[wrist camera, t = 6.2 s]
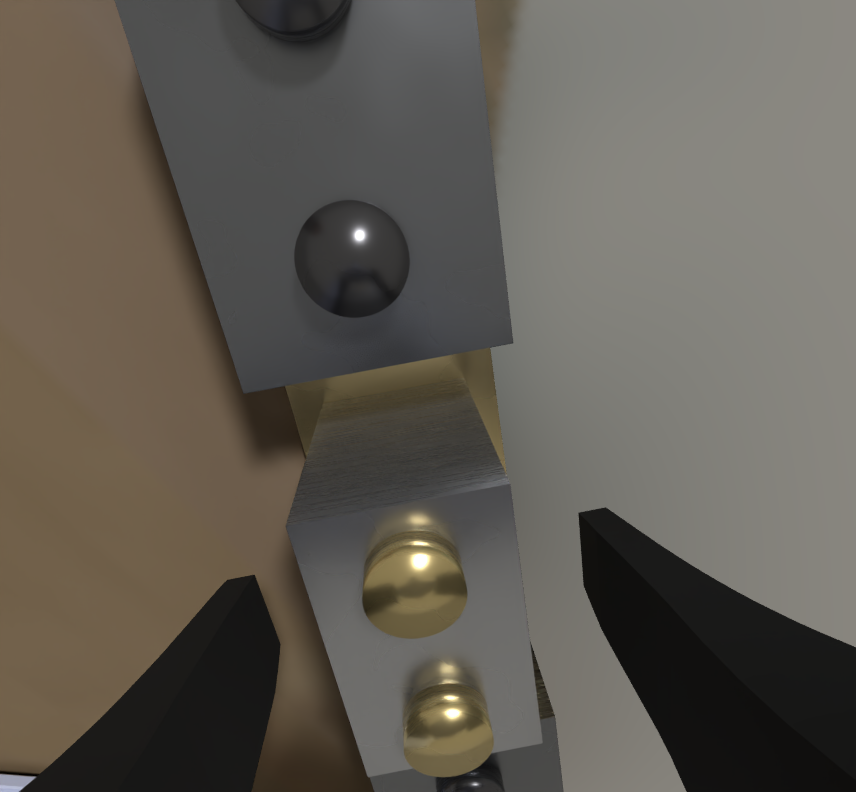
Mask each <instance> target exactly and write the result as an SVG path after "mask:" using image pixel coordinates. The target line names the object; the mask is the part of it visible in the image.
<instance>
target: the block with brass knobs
mask: <svg viewBox="0 0 856 792" xmlns="http://www.w3.org/2000/svg"><path fill="white" fill-rule="evenodd" d="M286 528H287V531H288V534H289V538H290V541H291V544H292V547H293V550H294V553H295V556H296V559H297V562H298V565H299V568H300V571H301V574H302V577H303V580H304V583H305V586H306V590H307V593H308V596H309V599H310V602H311V605H312V608H313V611H314V614H315V617H316V620H317V623H318V626H319V629H320V632H321V635H322V638H323V642H324V645H325V648H326V651H327V654H328V657H329V660H330V663H331V666H332V669H333V672H334V675H335V678H336V681H337V684H338V687H339V690H340V694H341V697H342V700H343V703H344V706H345V709H346V712H347V715H348V718H349V721H350V724H351V727H352V730H353V733H354V736H355V739H356V742H357V746H358V749H359V752H360V755H361V758H362V761H363V764H364V767H365V770H366V773H367V776H368V777H372V776H377V775H382V774H387V773H392V772H397V771H402V770H408V769H413V768H414V769H415V770H417V771H418V772H421V773H423V774H426V775H429V776H434V777H452V776H458V775H462V774H465V773H467V772H470V771H472V770H474V769H476V768H477V767H479V766H480V765H481V764H482V763H484V762H485V761H486V760H487V758H488V757H489V756H490V754H491V753H495V752H500V751H505V750H510V749H516V748H521V747H526V746H531V745H536V744H541V743H543V741H542V733H541V725H540V717H539V709H538V701H537V693H536V685H535V677H534V669H533V661H532V653H531V645H530V637H529V629H528V621H527V613H526V606H525V597H524V590H523V583H522V582H523V581H522V573H521V566H520V557H519V550H518V542H517V534H516V525H515V518H514V510H513V502H512V494H511V486H510V482H509V480H508V478H507V475H506V473H505V471H504V468H503V466H502V464H501V461H500V459H499V457H498V455H497V452H496V450H495V448H494V445H493V443H492V441H491V439H490V436H489V434H488V432H487V429H486V427H485V425H484V423H483V420H482V418H481V416H480V413H479V411H478V409H477V407H476V404H475V402H474V400H473V397H472V395H471V393H470V391H469V388H468V386H467V384H466V381H465V379H464V378H459V379H454V380H448V381H443V382H437V383H432V384H427V385H421V386H416V387H411V388H405V389H400V390H394V391H389V392H384V393H378V394H373V395H367V396H362V397H357V398H351V399H346V400H341V401H335V402H330V403H324V404H323V405H322V408H321V412H320V415H319V418H318V421H317V425H316V428H315V431H314V435H313V438H312V441H311V445H310V448H309V451H308V454H307V458H306V461H305V464H304V468H303V471H302V474H301V477H300V481H299V484H298V487H297V491H296V494H295V497H294V500H293V504H292V507H291V510H290V514H289V517H288V520H287V524H286Z"/></svg>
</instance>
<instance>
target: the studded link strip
mask: <svg viewBox="0 0 856 792" xmlns="http://www.w3.org/2000/svg"><path fill="white" fill-rule="evenodd" d="M115 3H116V6H117V9H118V12H119V15H120V18H121V21H122V24H123V27H124V30H125V34H126V37H127V40H128V43H129V46H130V49H131V52H132V55H133V58H134V61H135V64H136V67H137V70H138V73H139V76H140V79H141V82H142V85H143V88H144V91H145V94H146V97H147V101H148V104H149V107H150V110H151V113H152V116H153V119H154V122H155V125H156V128H157V131H158V134H159V137H160V140H161V143H162V146H163V149H164V152H165V155H166V158H167V161H168V165H169V168H170V171H171V174H172V177H173V180H174V183H175V186H176V189H177V192H178V195H179V198H180V201H181V204H182V207H183V210H184V213H185V216H186V219H187V222H188V225H189V229H190V232H191V235H192V238H193V241H194V244H195V247H196V250H197V253H198V256H199V259H200V262H201V265H202V268H203V271H204V274H205V277H206V280H207V283H208V286H209V289H210V292H211V296H212V299H213V302H214V305H215V308H216V311H217V314H218V317H219V320H220V323H221V326H222V329H223V332H224V335H225V338H226V341H227V344H228V347H229V350H230V353H231V356H232V360H233V363H234V366H235V369H236V372H237V375H238V378H239V381H240V384H241V387H242V390H243V393H244V394H245V393H250V392H256V391H261V390H266V389H272V388H277V387H282V386H285V388H286V391H287V395H288V398H289V401H290V405H291V408H292V412H293V415H294V418H295V422H296V425H297V429H298V432H299V435H300V439H301V442H302V446H303V449H304V452H305V456H306V458H307V454H308V451H309V448H310V445H311V441H312V438H313V435H314V431H315V428H316V425H317V421H318V418H319V415H320V412H321V408H322V405H323V404H324V403H330V402H335V401H341V400H346V399H351V398H357V397H362V396H367V395H373V394H378V393H384V392H389V391H394V390H400V389H405V388H411V387H416V386H421V385H427V384H432V383H437V382H443V381H448V380H454V379H459V378H464V379H465V381H466V384H467V386H468V388H469V391H470V393H471V395H472V397H473V400H474V402H475V404H476V407H477V409H478V411H479V413H480V416H481V418H482V420H483V423H484V425H485V427H486V429H487V432H488V434H489V436H490V439H491V441H492V443H493V445H494V448H495V450H496V452H497V455H498V457H499V459H500V461H501V464H502V466H503V468H504V471H505V473H506V467H505V459H504V451H503V443H502V436H501V428H500V421H499V413H498V405H497V398H496V390H495V382H494V374H493V366H492V359H491V351H490V348H491V347H496V346H501V345H506V344H512V343H513V337H512V327H511V319H510V310H509V301H508V292H507V283H506V274H505V265H504V256H503V247H502V238H501V230H500V220H499V211H498V202H497V193H496V184H495V176H494V167H493V158H492V149H491V140H490V131H489V122H488V113H487V104H486V95H485V86H484V77H483V68H482V59H481V50H480V42H479V33H478V24H477V15H476V6H475V0H115ZM530 645H531V642H530ZM531 653H532V661H533V669H534V677H535V685H536V693H537V701H538V709H539V717H540V725H541V733H542V741H543V743H541V744H536V745H531V746H526V747H521V748H516V749H510V750H505V751H500V752H495V753H491V754H490V756H489V757H488V758H487V760H486V761H485V762H484V763H482V764H481V765H480V766H479V767H477V768H476V769H474V770H472V771H470V772H467V773H465V774H462V775H458V776H452V777H434V776H429V775H426V774H423V773H421V772H418V771H417V770H415V769H414V768H413V769H408V770H402V771H397V772H392V773H387V774H382V775H377V776H372V777H370V780H371V783H372V786H373V789H374V792H563V784H562V775H561V765H560V757H559V748H558V738H557V730H556V721H555V715H554V712H553V709H552V706H551V703H550V700H549V697H548V694H547V691H546V688H545V685H544V681H543V678H542V675H541V672H540V669H539V666H538V663H537V660H536V657H535V654H534V651H533V648H532V645H531Z"/></svg>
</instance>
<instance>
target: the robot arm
mask: <svg viewBox="0 0 856 792" xmlns="http://www.w3.org/2000/svg"><path fill="white" fill-rule="evenodd" d="M579 526H580V540H581V554H582V567H583V582H584V588H585V590H586V593H587V595H588V598H589V600H590V602H591V605H592V608H593V610H594V612H595V614H596V617H597V619H598V622H599V624H600V627H601V629H602V631H603V633H604V635H605V636H606V638H607V640H608V642H609V644H610V646H611V647H612V649H613V651H614V653H615V655H616V657H617V658H618V660H619V662H620V664H621V666H622V667H623V669H624V671H625V673H626V675H627V676H628V678H629V680H630V682H631V684H632V685H633V687H634V689H635V691H636V692H637V694H638V696H639V698H640V700H641V702H642V703H643V705H644V707H645V709H646V710H647V712H648V714H649V716H650V718H651V719H652V721H653V723H654V725H655V726H656V728H657V730H658V732H659V734H660V736H661V738H662V740H663V742H664V744H665V746H666V748H667V750H668V752H669V754H670V756H671V758H672V760H673V762H674V765H675V767H676V769H677V771H678V774H679V776H680V778H681V780H682V783H683V785H684V787H685V789H686V791H687V792H856V647H854V646H851V645H849V644H846V643H844V642H842V641H839V640H837V639H834V638H832V637H830V636H828V635H825V634H823V633H820V632H818V631H816V630H814V629H811V628H809V627H807V626H805V625H802V624H800V623H798V622H796V621H794V620H792V619H789V618H787V617H786V616H784V615H782V614H779V613H777V612H775V611H773V610H771V609H769V608H767V607H765V606H763V605H761V604H759V603H757V602H755V601H753V600H751V599H749V598H748V597H746V596H744V595H742V594H740V593H738V592H736V591H735V590H733V589H731V588H729V587H728V586H726V585H724V584H722V583H720V582H719V581H717V580H715V579H714V578H712V577H710V576H709V575H707V574H705V573H703V572H702V571H700V570H699V569H697V568H695V567H693V566H692V565H690V564H689V563H687V562H686V561H684V560H682V559H681V558H679V557H678V556H676V555H674V554H673V553H672V552H670V551H668V550H667V549H665V548H664V547H662V546H661V545H659V544H658V543H656V542H655V541H653V540H652V539H651V538H649V537H648V536H646V535H645V534H643V533H642V532H640V531H639V530H637V529H636V528H635V527H633V526H632V525H630V524H629V523H627V522H626V521H625V520H623V519H622V518H620V517H619V516H617V515H616V514H614V513H613V512H611V511H610V510H609V509H607V508H601V509H596V510H591V511H585V512H580V513H579ZM279 654H280V642H279V639H278V636H277V634H276V631H275V628H274V626H273V623H272V620H271V618H270V615H269V612H268V609H267V607H266V604H265V601H264V599H263V596H262V593H261V591H260V588H259V585H258V583H257V580H256V577H255V575H251V576H245V577H240V578H235V579H230V580H227V581H226V582H225V583H224V584H223V585H222V586H221V587H220V588H219V589H218V590H217V591H216V592H215V594H214V595H213V596H212V597H211V598H210V599H209V600H208V602H207V603H206V604H205V605H204V606H203V607H202V609H201V610H200V611H199V612H198V613H197V614H196V616H195V617H194V618H193V619H192V620H191V621H190V622H189V624H188V625H187V626H186V627H185V628H184V629H183V631H182V632H181V633H180V634H179V635H178V636H177V637H176V638H175V640H174V641H173V642H172V643H171V644H170V645H169V646H168V648H167V649H166V650H165V651H164V652H163V653H162V654H161V655H160V657H159V658H158V659H157V660H156V661H155V662H154V663H153V664H152V665H151V666H150V667H149V668H148V670H147V671H146V672H145V673H144V674H143V675H142V676H141V677H140V678H139V679H138V680H137V681H136V682H135V683H134V684H133V685H132V686H131V687H130V689H129V690H128V691H127V692H126V693H125V694H124V695H123V696H122V697H121V698H120V699H119V700H118V701H117V702H116V703H115V704H114V705H113V706H112V707H111V708H110V709H109V710H108V711H107V712H106V713H105V714H104V715H103V716H102V717H101V718H100V719H99V720H98V721H97V722H96V723H95V724H94V725H93V726H92V727H91V728H90V729H89V730H88V731H87V732H86V733H85V734H84V735H83V736H81V737H80V738H79V739H78V740H77V741H76V742H75V743H74V744H73V745H72V746H71V747H70V748H68V749H67V750H66V751H65V752H64V753H63V754H62V755H61V756H60V757H59V758H58V759H56V760H55V761H54V762H53V763H52V764H51V765H50V766H49V767H47V768H46V769H45V770H44V771H43V772H42V773H40V774H39V775H38V776H37V777H36V776H23V775H11V774H0V792H251V790H252V786H253V782H254V778H255V774H256V770H257V766H258V762H259V758H260V754H261V749H262V745H263V741H264V737H265V733H266V729H267V725H268V720H269V716H270V712H271V708H272V703H273V699H274V694H275V688H276V680H277V673H278V663H279Z"/></svg>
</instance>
